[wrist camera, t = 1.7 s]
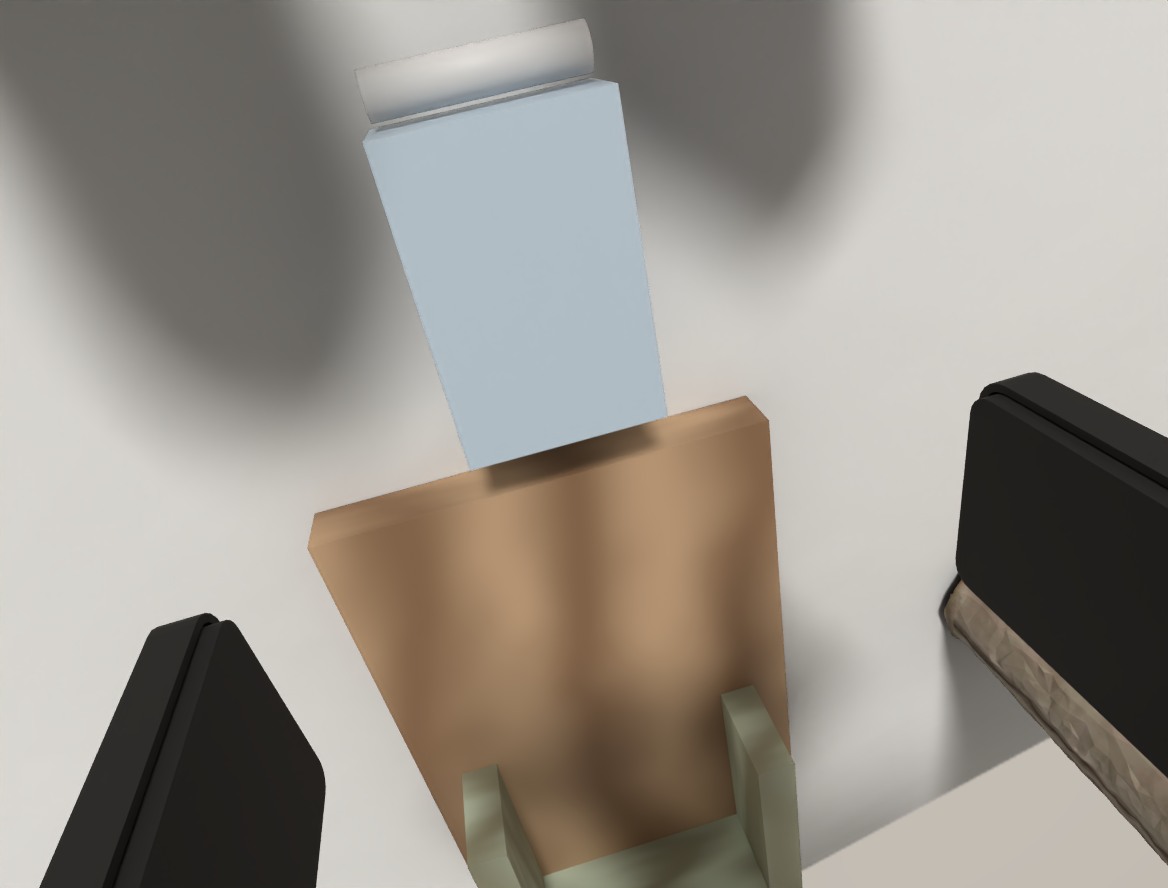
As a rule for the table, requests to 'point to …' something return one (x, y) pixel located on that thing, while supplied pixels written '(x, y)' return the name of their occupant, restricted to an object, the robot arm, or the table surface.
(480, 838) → the dock
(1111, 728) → the spray can
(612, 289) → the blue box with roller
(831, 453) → the table surface
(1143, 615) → the robot arm
